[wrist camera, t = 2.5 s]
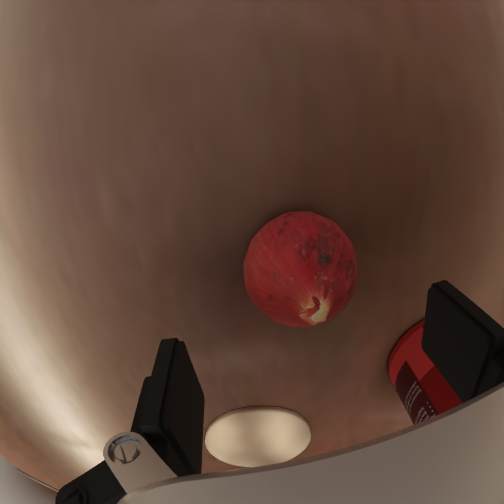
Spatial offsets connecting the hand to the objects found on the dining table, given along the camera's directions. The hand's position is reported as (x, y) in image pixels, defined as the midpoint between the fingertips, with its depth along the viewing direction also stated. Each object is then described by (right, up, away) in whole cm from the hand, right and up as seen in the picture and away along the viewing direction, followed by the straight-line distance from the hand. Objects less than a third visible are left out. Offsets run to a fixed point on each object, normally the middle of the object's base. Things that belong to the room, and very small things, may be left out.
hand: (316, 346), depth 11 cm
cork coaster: (-2, -14, +16) cm, 21 cm away
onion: (0, +4, +9) cm, 10 cm away
